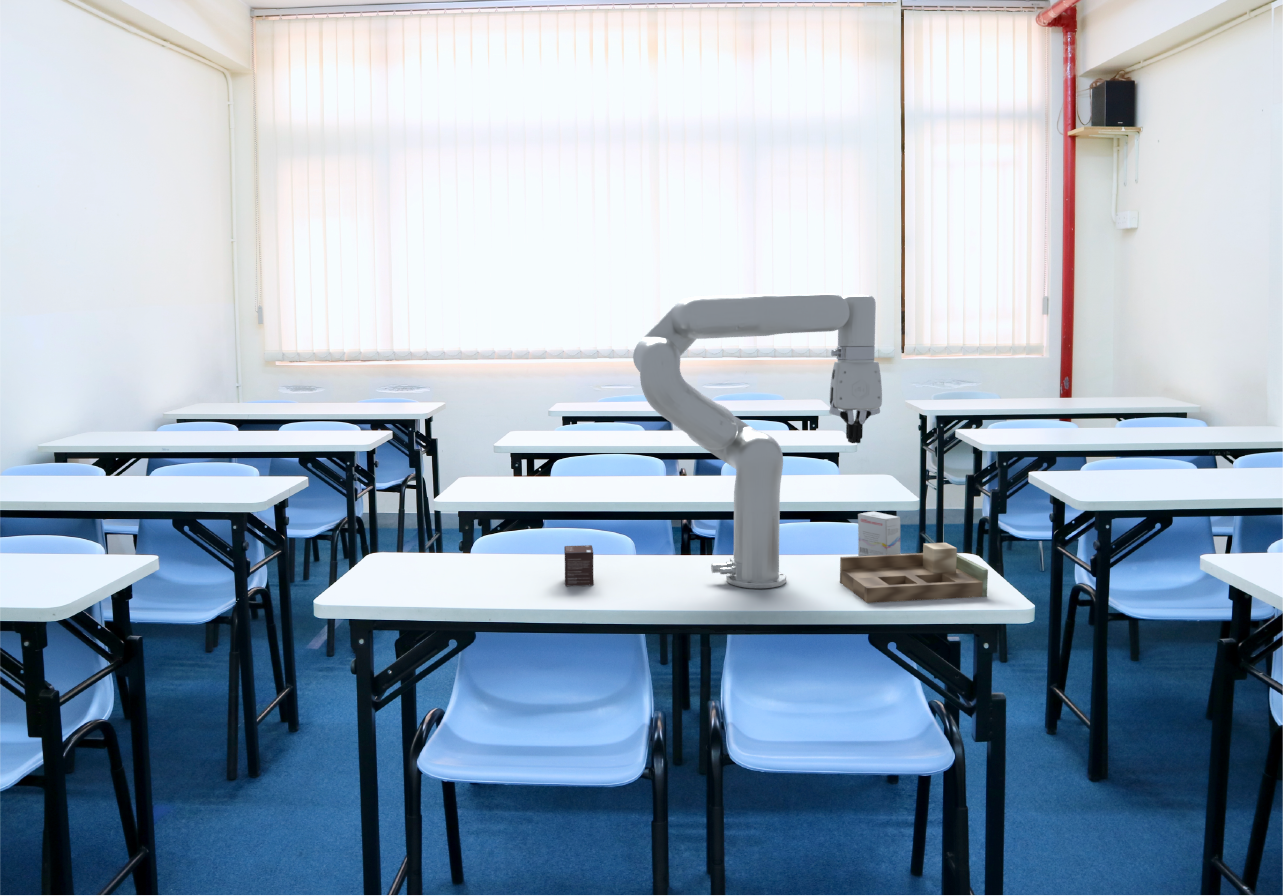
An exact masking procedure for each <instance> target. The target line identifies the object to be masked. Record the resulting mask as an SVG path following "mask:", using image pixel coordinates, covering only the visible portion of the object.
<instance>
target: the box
mask: <svg viewBox="0 0 1283 896" xmlns="http://www.w3.org/2000/svg"><path fill="white" fill-rule="evenodd" d="M593 548H594V547H593V545H591V544H589V545H588V544H587V545H564V586H565V587H575V586H576V587H577V586H582V587H584V586H594V585H595V583H594V549H593Z"/></svg>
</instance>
